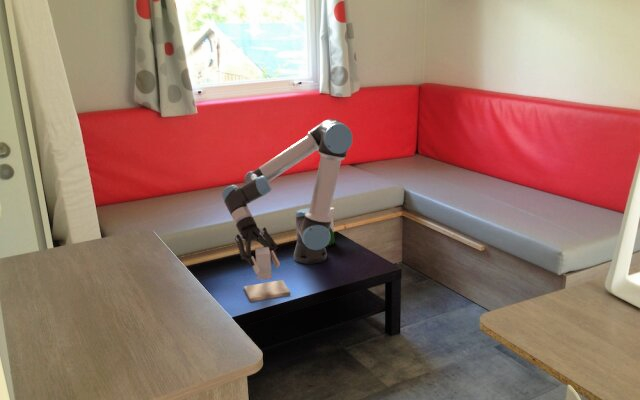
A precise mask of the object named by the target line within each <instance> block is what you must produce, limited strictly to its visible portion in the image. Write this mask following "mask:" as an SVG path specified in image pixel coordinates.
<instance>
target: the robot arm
mask: <svg viewBox="0 0 640 400" xmlns="http://www.w3.org/2000/svg"><path fill="white" fill-rule="evenodd" d="M353 140H354V139H353V134H352V131H351V129H350V128H349V126H348V125H346V124H345V123H343V122H341V121H340V120H338V119H335V118H328V119H326V120H323V121H322V122H320V123H319V124H318V125H316V126H315V127H313V128H312V129H311V130H309V131H308V132H307V134H306V136H305V137H303V138H302V139H300V140H298V141H297V142H296V143H294V144H292V145H290V147H288V148H287V149H285V150H283V151H282V152H281V153H279V154H277V155H276V156H275V157H273V158H271V159H270V160H269V161H267V162H265V163H264V164H262V165H260V166H259V167H257V169H255V170H250V171H248V172H247V173H246V174H245V175H244V185H242V186H237V185H236V184H231V185H228V186H227V187H225V188H223V190H222V191H221V196H222V197H221V198H222V199H223V202H224V205H225V206H226V208H227V210H228V212H229V213H230V217H231V219H232V220H233V223H234V224H235V226H236V228H237V231H238V232H239V234H236V236H235V237H234V240H235V242H236V244H237V246H238V247H237V248H238V251H239V255H240V258H241V259H240V260H243V261H244V260H245V261H246V262H248V265H249V266H250V267H252V268H253V271H254V273H255V275H257V274H258V273H259V272H260V269H259V267H258V265H257V263H256V258H254V256H253V255H252V245H251V244H252V242H257V243H259V244H260V245H261V246H262V247H269V250H270V257H271V262H272V263H273V265H274V266H275V269H277V268H278V267H280V265H281V263H280V261H279V259H278V257H279V256H278V253H277V251H276V249H277V248H278V245H277V242H275V240H274V238H272V236H271V235H270V233H269V232H268V230H267V228H266V227H265V226H264V227H262V228H259V227H258V226H257V222H256V221H255V219H254V217H253V215H252V213H251V211H250V208H249V206H248V204H250V203H252V202H254V201H256V200H258V199H260V198H262V197H264V196H267V194H269V193H270V192H271V191H272V187H271V185H270V183H269V182H271V181H273V180H274V179H275V178H277V177H279V176H280V175H282V174H283V173H284V172H286V171H288V170H289V169H291V168H292V167H293V166H295V165H297V164H298V163H300V162H301V161H303V160H304V159H306V158H308V157H309V156H310V155H312V154H313V153H315V152H316V151H318V154H319V155H320V159H319V164H318V169H317V173H316V176H315V177H316V178H315V182H314V187H313V192H312V195H311V201H310V206H309V207H308V208H307V207H306V208H301V209H298V210H297V211H296V212H295V217H294V218H295V227H296V229H295V230H296V245H295V249H294V252H293V259H294V261H295V262H298V263H300V264H305V265H306V264H307V265H308V264H309V265H311V264H318V263H322V262H324V261H326V260H327V258H328V252H327V250H326V248H327V247H326V246H327V244H328V243H329V241H330V231H329V229H330V225H331V220H332V219H331V218H330V216H329V213H330V208H331V207H332V204H333V203H332V202H333V200H334V194H335V190H336V187H337V180H338V177H339V173H340V168H341V165H342V161H344V160H345V159H346V157H347V153H348V150H349V149H350V148H351V146H352V144H353ZM243 240H245V241H244V242H245V243H243ZM244 245H245V246H244Z"/></svg>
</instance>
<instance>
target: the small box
mask: <svg viewBox="0 0 640 400" xmlns="http://www.w3.org/2000/svg"><path fill="white" fill-rule="evenodd" d="M254 252H255V261H256V263H257V265H258V267H259V269H260V272H259V273H258V274H256V276H257V280H259V281H261V280H269V279H270V280H271V279H272V277H273V275H272V259H271V257H270V250H269V247H264V246H261V247H255V248H254Z"/></svg>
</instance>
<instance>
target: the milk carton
mask: <svg viewBox="0 0 640 400" xmlns="http://www.w3.org/2000/svg"><path fill="white" fill-rule="evenodd" d="M334 214H335V207H332V206H331V208H330V213H329V216H330V218H331V219H332V220H331V225H330V229H329V231H330V241H329V243H328V244H327V246H326V247H325V248H328V246H329V245H330V246H332V245H333V244H335V243H334V242H335V232H334V231H335V230H334V229H335V227H334V226H335V225H334V222H335V221H334ZM332 243H333V244H332ZM331 244H332V245H331ZM330 246H329V247H330Z"/></svg>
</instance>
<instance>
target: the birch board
mask: <svg viewBox="0 0 640 400" xmlns="http://www.w3.org/2000/svg"><path fill="white" fill-rule="evenodd" d="M243 290H244V292H245V294H246V296H247V298H248V300H249V302H250V303H252V302H256V301H263V300H267V299H273V298H274V299H275V298H278V297H285V296H290V295H291V291H290V289H289V287H288V285H286V283H285V282H284V280H283V279H281V280H280V279H279V280H274V281H273V280H272V281H268V282H267V281H266V282H262V283H261V282H260V283H257V284H250V285H244V286H243Z"/></svg>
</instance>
